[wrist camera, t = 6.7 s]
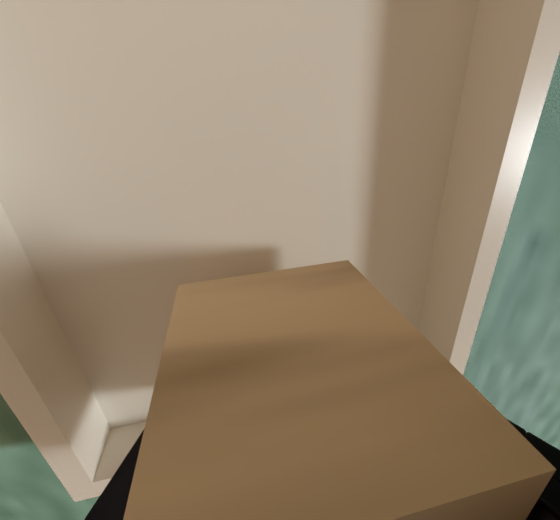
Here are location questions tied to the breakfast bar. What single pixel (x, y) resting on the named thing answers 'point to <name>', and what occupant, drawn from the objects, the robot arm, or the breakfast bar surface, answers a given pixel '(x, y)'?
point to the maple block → (319, 412)
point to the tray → (242, 177)
